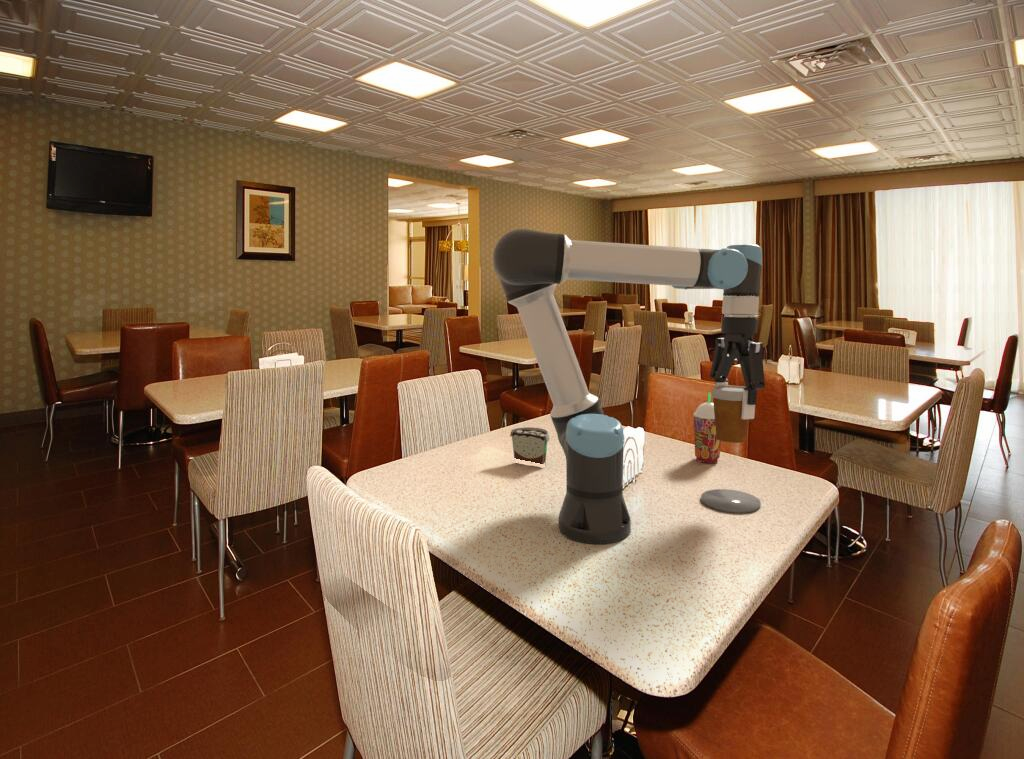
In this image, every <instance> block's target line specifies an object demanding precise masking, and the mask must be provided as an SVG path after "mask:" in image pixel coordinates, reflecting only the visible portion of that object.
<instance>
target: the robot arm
mask: <svg viewBox="0 0 1024 759" xmlns="http://www.w3.org/2000/svg"><path fill="white" fill-rule="evenodd" d="M494 246H495V247H494V249H493V253H492V261H493V262H492V263H493V264H492V265H493V269H494V272H495V274H496V276H497V278H498V280H499V282H500V285H501V287H502V288H501V289H502V290H503V293H504V295H505V298H506V301H507V303H508V304H510V305H512V306H514V307H516V308H517V311H518V313H519V317H520V320H521V322H522V324H523V327H524V330H525V333H526V335H527V338H528V340H529V343H530V346H531V349H532V351H533V354H534V357H535V360H536V362H537V365H538V367H539V370H540V373H541V376H542V377H543V381H544V383H545V386H546V389H547V392H548V395H549V397H550V400H551V402H552V405H553V406H552V409H551V411H550V413H549V415H550V418H551V421H552V424H553V427H554V429H555V432H556V435H557V440H558V442H559V445H560V446H561V448H562V450H563V454H564V456H565V460H566V461H565V462H566V464H565V466H566V474H565V476H566V488H565V489H566V490H565V491H566V493H565V496H564V500H563V502H562V504H561V508H560V511H559V514H558V518H557V521H558V522H557V523H558V524H557V525H558V527H557V528H559V529H558V531H559V530H560V531H559V532H560V533H561V534H562V536H564V535H565V536H564V537H566V538H568V539H571V540H573V541H575V542H580V543H585V544H595V545H596V544H599V545H600V544H610V543H616V542H619V541H621V540H624V539H625V538H627V537H628V536H629V535H630V534H631V531H632V530H631V529H632V528H631V527H632V526H631V525H632V520H631V516H630V513H629V510H628V507H627V503H626V502H625V498H624V494H623V490H624V489H623V487H624V486H623V482H624V444H625V434H624V427H623V425H622V423H621V422H620V421H619V420H618V419H616V418H614V417H613V416H608V415H606V414H604V410H603V408H602V405H601V403H600V400H599V397H598V396H597V395H594V394H592V393H590V391H589V390H588V389H589V388H588V386H587V383H586V381H585V378H584V375H583V372H582V369H581V367H580V363H579V361H578V358H577V356H576V353H575V350H574V348H573V344H572V341H571V339H570V337H569V334H568V330H567V329H566V326H565V323H564V320H563V317H562V314H561V311H560V309H559V306H558V303H557V300H556V298H555V297H556V296H555V293H554V292H555V290H556V287H557V286H558V285H561V284H563V283H564V282H565V281H567V280H578V281H591V282H607V283H608V282H610V283H622V284H623V283H624V284H626V283H627V284H639V285H654V286H655V285H658V286H671V287H672V288H674V289H676V290H677V289H680V290H706V289H707V290H713V289H715V290H723V293H722V306H721V314H723V315H724V316H722V317H721V324H720V325H721V327H720V329H721V330H720V332H721V333H722V334H724V337H717V338H715V349H714V355H713V357H712V358H713V359H712V363H711V368H710V371H709V377H710V379H713V380H714V382H715V385H714V387H715V386H729V379H728V375H729V374H730V371H731V369H732V366H733V364H734V361H735V360H736V361H737V362H738V363H739V366H740V370H741V373H742V378H743V381H744V385H745V386H744V387H745V388H744V390H743V401H742V416H741V419H750V420H754V419H755V414H756V411H755V410H756V405H757V397H758V391H759V390H761V389H765V388H766V381H765V370H764V360H763V348H764V344H763V342H756V341H755V342H754V338H753V337H754V336H753V335H756V334H757V333H758V326H759V325H758V324H759V319H758V317H757V315H758V314H759V308H760V307H759V306H760V292H761V291H760V289H761V278H762V268H763V248H762V247H761V246H760V245H758V244H751V243H750V244H732V245H731V244H730V245H728V246H726V248H721V249H711V248H709V249H708V248H696V247H679V246H666V245H665V246H662V245H651V244H650V245H649V244H636V243H623V242H622V243H621V242H606V241H605V242H604V241H590V240H575V239H570V238H569V237H568V236H567V235H566V234H565V233H554V232H545V231H540V230H535V229H529V228H515V229H511V230H510V231H507V232H505V233H504V234H503V235H502V236H501V237H500V238H499V239H498V241H496V244H495V245H494Z"/></svg>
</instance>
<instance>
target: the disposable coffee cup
mask: <svg viewBox="0 0 1024 759" xmlns="http://www.w3.org/2000/svg"><path fill="white" fill-rule="evenodd" d="M745 387H746V386H742V385H741V386H740V385H728V386H715V385H714V386H713V388H712V391H711V392H710V393H711V398H712V400H713V401H712V403H714V415H715V427H716V439H717V440H720V441H721V442H723V443H728V444H729V443H730V444H734V443H735V444H740V443H742V444H743V443H745V442H746V439H747V433H748V428H749V423H750V420H751V419H741V416H742V401H743V390H744V388H745Z"/></svg>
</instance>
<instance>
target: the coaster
mask: <svg viewBox="0 0 1024 759" xmlns="http://www.w3.org/2000/svg"><path fill="white" fill-rule="evenodd" d="M700 499H701V500H700V501H701V502H702V504H703V505H705V506H706V507H708V508H710V509H713V510H716V511H718V512H724V513H730V514H731V513H732V514H750V513H753V512H756V511H758V510H760V508H761V500H760V499H759V498H758V497H757V496H755V495H753V494H751V493H747V492H744V491H740V490H735V489H727V488H726V489H725V488H718V489H717V488H716V489H709V490H706V491H704V492H702V493H701V495H700Z"/></svg>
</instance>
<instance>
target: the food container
mask: <svg viewBox="0 0 1024 759" xmlns="http://www.w3.org/2000/svg"><path fill="white" fill-rule="evenodd" d="M509 437H511V441H512V449H513V459H514V458H516V459H520V460H525V461H531V462H535V463H540V464H544V463H545V464H546V459H547V450H548V449H547V448H548V442H549V441H551V440H550V439H551V438H550V434H549V432H548V430H546V429H543V428H540V427H533V426H532V427H531V426H529V427H525V426H524V427H517V428H512V429H511V431H510V434H509Z"/></svg>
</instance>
